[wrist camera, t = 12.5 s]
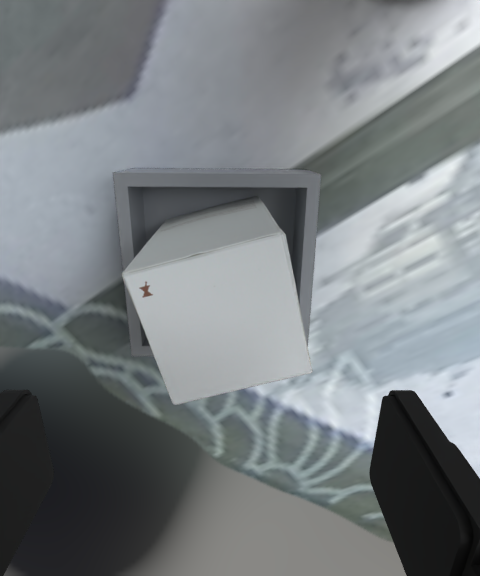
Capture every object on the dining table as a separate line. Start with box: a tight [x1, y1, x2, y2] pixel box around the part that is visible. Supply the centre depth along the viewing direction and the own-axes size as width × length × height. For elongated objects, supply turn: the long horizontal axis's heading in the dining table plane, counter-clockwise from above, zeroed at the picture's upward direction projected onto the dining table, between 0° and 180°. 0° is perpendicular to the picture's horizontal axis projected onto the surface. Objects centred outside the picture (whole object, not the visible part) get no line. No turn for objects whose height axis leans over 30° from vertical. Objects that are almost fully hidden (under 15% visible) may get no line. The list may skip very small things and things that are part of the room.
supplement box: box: [121, 196, 312, 405], centre depth 23 cm, size 7×7×13 cm
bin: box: [113, 168, 321, 356], centre depth 28 cm, size 13×13×5 cm
